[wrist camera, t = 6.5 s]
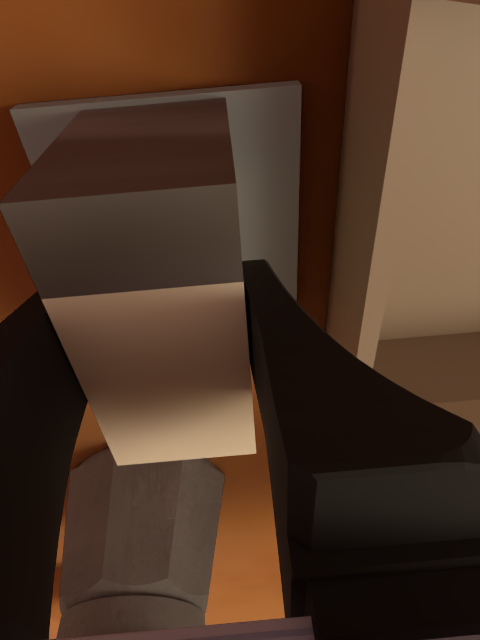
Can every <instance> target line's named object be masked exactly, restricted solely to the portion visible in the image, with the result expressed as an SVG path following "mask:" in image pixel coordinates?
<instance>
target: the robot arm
mask: <svg viewBox="0 0 480 640" xmlns="http://www.w3.org/2000/svg"><path fill="white" fill-rule="evenodd" d="M242 266H243V280H244V293H245V307H246V321H247V334H248V348H249V361H250V366H251V370H252V375H253V380H254V385H255V389H256V394H257V399H258V403H259V408H260V413H261V417H262V422H263V427H264V433H265V439H266V446H267V455H268V463H269V472H270V481H271V490H272V499H273V508H274V517H275V527H276V536H277V545H278V554H279V564H280V573H281V583H282V592H283V602H284V611H285V618H281V619H270V620H259V621H248V622H237V623H226V624H215V625H204V626H193V627H182V628H171V629H160V630H149V631H138V632H127V633H116V634H105V635H94V636H83V637H72V638H61V639H50V640H480V433H479V432H478V430H477V429H476V427H475V426H474V424H473V423H472V422H470V421H468V420H466V419H463V418H461V417H459V416H457V415H455V414H453V413H451V412H449V411H447V410H445V409H443V408H441V407H439V406H437V405H435V404H433V403H430V402H428V401H426V400H424V399H422V398H421V397H419V396H417V395H415V394H413V393H412V392H410V391H408V390H406V389H405V388H403V387H401V386H399V385H398V384H396V383H394V382H392V381H391V380H389V379H388V378H386V377H384V376H383V375H381V374H380V373H378V372H377V371H375V370H374V369H373V368H371V367H370V366H368V365H367V364H365V363H364V362H362V361H361V360H359V359H358V358H357V357H355V356H354V355H353V354H351V353H350V352H349V351H347V350H346V349H345V348H344V347H343V346H341V345H340V344H339V343H338V342H337V341H335V340H334V339H333V338H332V337H331V336H330V335H329V334H327V333H326V332H325V331H324V330H323V329H322V328H321V327H320V326H319V325H318V324H317V323H316V322H315V321H314V320H313V319H312V318H311V317H310V316H309V315H308V314H307V313H306V311H305V310H304V309H303V308H302V307H301V306H300V305H299V304H298V302H297V301H296V300H295V299H294V298H293V296H292V295H291V294H290V293H289V292H288V290H287V289H286V288H285V286H284V285H283V284H282V282H281V281H280V280H279V278H278V277H277V275H276V274H275V272H274V271H273V269H272V268H271V266H270V264H269V262H267V261H266V260H265V259H259V260H248V261H242ZM87 402H88V400H87V398H86V396H85V394H84V391H83V389H82V387H81V385H80V383H79V380H78V378H77V376H76V374H75V372H74V370H73V367H72V365H71V363H70V361H69V359H68V356H67V354H66V352H65V350H64V348H63V346H62V343H61V341H60V339H59V337H58V335H57V332H56V330H55V328H54V326H53V324H52V322H51V319H50V317H49V315H48V313H47V311H46V308H45V306H44V304H43V302H42V300H41V297H40V295H39V293H38V291H37V292H36V293H35V294H34V295H32V296H31V297H30V298H29V299H28V300H27V301H25V302H24V303H23V304H22V305H21V306H20V307H18V308H17V309H16V310H15V311H14V312H13V313H11V314H10V315H9V316H8V317H7V318H6V319H4V320H3V321H2V322H1V323H0V640H49V627H50V616H51V605H52V593H53V582H54V573H55V565H56V557H57V548H58V540H59V532H60V526H61V519H62V512H63V505H64V499H65V493H66V487H67V481H68V475H69V470H70V464H71V459H72V455H73V451H74V447H75V443H76V439H77V436H78V432H79V429H80V426H81V422H82V419H83V415H84V412H85V409H86V405H87Z"/></svg>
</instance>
